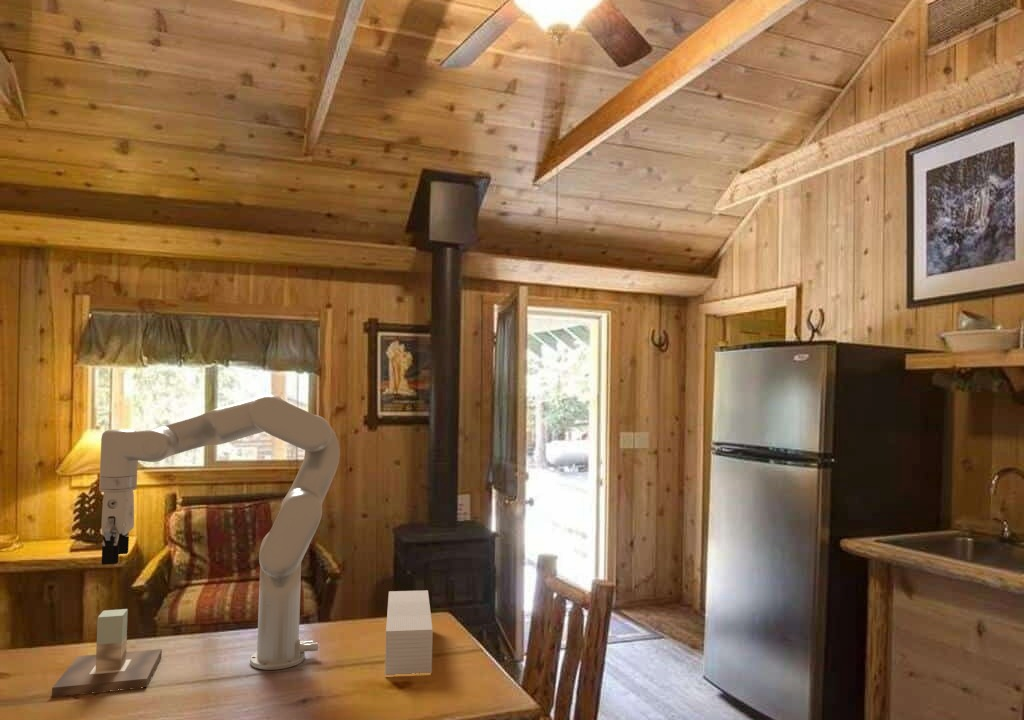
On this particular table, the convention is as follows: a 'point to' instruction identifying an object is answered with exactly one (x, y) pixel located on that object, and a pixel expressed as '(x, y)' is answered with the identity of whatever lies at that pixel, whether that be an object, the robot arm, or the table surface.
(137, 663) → the walnut board
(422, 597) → the stack of papers
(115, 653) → the maple block
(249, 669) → the table surface
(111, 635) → the sage block
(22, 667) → the table surface
